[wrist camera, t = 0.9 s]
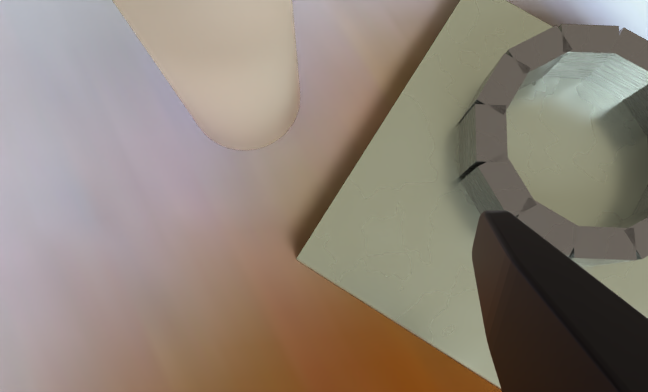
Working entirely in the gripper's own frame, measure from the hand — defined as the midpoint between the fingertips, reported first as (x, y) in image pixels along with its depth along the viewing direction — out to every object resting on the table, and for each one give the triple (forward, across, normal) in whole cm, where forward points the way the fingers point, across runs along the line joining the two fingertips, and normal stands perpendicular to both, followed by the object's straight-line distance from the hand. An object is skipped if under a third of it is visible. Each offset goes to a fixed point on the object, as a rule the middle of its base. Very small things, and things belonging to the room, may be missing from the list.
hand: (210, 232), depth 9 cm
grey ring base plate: (+12, -11, +9) cm, 18 cm away
